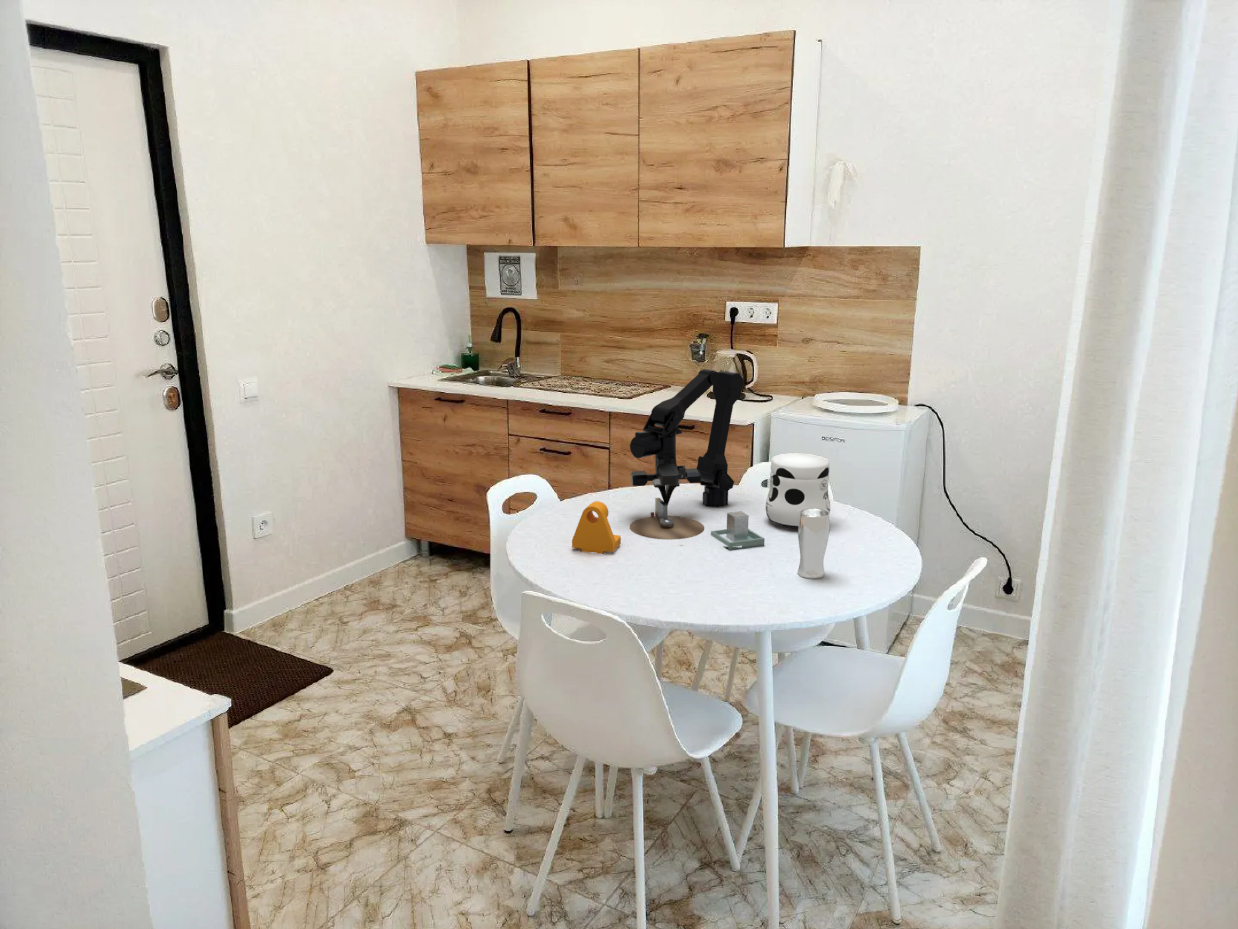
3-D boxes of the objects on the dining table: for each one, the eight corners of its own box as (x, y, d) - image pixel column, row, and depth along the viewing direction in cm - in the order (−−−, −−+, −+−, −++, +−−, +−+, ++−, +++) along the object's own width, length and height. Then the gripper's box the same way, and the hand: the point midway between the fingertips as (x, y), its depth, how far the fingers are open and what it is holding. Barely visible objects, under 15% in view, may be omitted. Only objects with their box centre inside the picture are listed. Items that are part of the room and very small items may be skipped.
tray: (744, 534, 229) (744, 526, 229) (764, 545, 220) (764, 538, 220) (710, 538, 226) (711, 531, 225) (729, 550, 217) (729, 543, 216)
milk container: (842, 525, 236) (847, 461, 232) (797, 537, 227) (800, 470, 222) (796, 510, 250) (799, 449, 246) (751, 520, 241) (754, 457, 236)
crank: (675, 526, 230) (675, 508, 229) (662, 527, 230) (662, 509, 228) (663, 514, 241) (663, 497, 239) (650, 515, 240) (651, 498, 238)
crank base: (684, 515, 245) (684, 508, 244) (717, 537, 227) (717, 529, 226) (618, 523, 238) (618, 516, 237) (647, 546, 219) (647, 538, 219)
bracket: (621, 545, 221) (621, 500, 218) (613, 555, 214) (613, 508, 211) (581, 541, 224) (581, 496, 221) (572, 550, 217) (571, 504, 214)
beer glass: (793, 568, 205) (796, 507, 201) (823, 569, 205) (827, 508, 201) (798, 579, 198) (801, 516, 195) (829, 580, 198) (833, 517, 194)
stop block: (740, 536, 226) (740, 511, 224) (747, 541, 222) (748, 515, 220) (726, 538, 224) (727, 512, 222) (733, 543, 221) (734, 517, 219)
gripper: (634, 460, 226) (635, 517, 230) (705, 457, 228) (705, 514, 232) (629, 450, 237) (631, 505, 241) (697, 447, 239) (697, 502, 242)
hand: (666, 507), depth 239 cm, fingers closed
